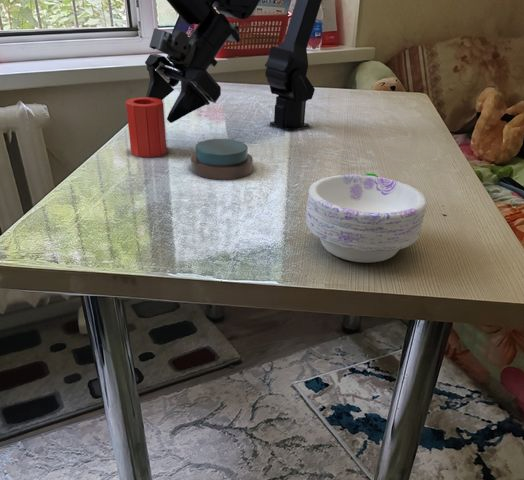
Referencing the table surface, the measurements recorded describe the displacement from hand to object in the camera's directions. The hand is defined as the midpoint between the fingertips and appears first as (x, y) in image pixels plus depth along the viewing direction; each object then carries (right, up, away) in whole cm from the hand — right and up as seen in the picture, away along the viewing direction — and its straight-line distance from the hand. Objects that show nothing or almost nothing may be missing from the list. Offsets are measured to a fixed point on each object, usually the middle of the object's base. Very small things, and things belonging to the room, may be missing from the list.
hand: (156, 115), depth 102 cm
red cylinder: (-2, -6, +3) cm, 7 cm away
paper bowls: (+33, -30, -27) cm, 52 cm away
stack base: (+13, -11, -4) cm, 17 cm away
